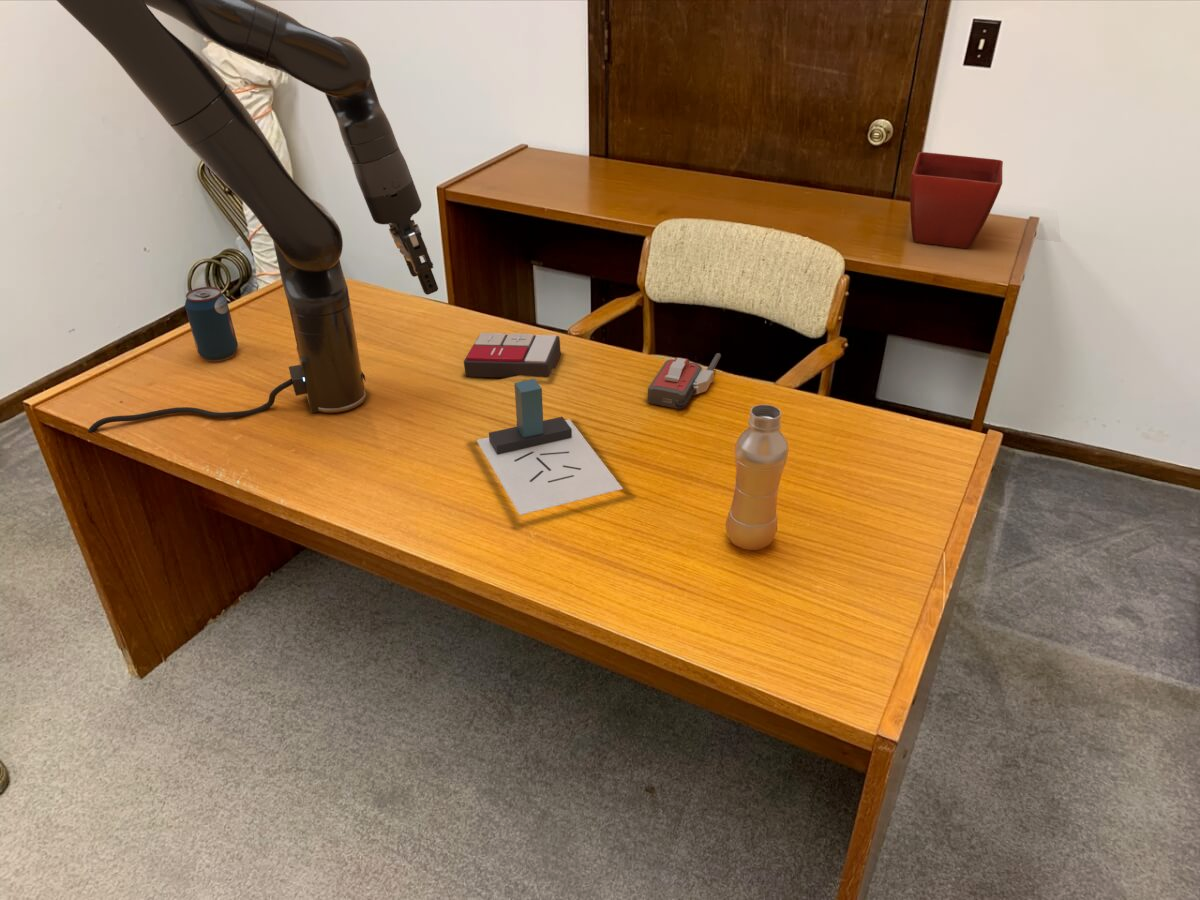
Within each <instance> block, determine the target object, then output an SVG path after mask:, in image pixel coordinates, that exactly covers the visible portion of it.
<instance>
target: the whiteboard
mask: <svg viewBox="0 0 1200 900" xmlns="http://www.w3.org/2000/svg"><path fill="white" fill-rule="evenodd" d="M564 420H565V421H566V422H567V424H568V425H569V426H570V427H571V429H572V438H568V439H564V440H559V441H555V442H551V443H546V444H542V445H537V446H533V447H529V448H524V449H520V450H516V451H511V452H507V453H503V454H498V455H497V453H496V452H495V450H494V448H493V447H492V445H491V443H490V442H489V436H487V437H483V438H478V439H476V443H477V444H478V446H479V447H480V449H481V451H482V453H483V454H484V456H485V458H486V460H487V462H488V463H489V465H490V466H491V468H492V470H493V472H494V474H495V475H496V477H497V479H498V481H499V482H500V484H501V486H502V487H503V489H504V491H505V492H506V494H507V496H508V498H509V500H510V501H511V503H512V504H513V507H514V508H515V510H516V512H517V513H518V516H523V515H528V514H531V513H534V512H538V511H543V510H546V509H551V508H555V507H558V506H562V505H565V504H566V505H567V504H570V503H574V502H578V501H581V500H586V499H590V498H594V497H597V496H600V495H605V494H610V493H613V492H618V491H621V490H623V489H624V487H622V485H621V484H620V482H618V480H617V479H616V478H615V476H614V475H613V474H612V472H611V471H610V469H609V468H608V467H607V466H606V464H605V463H604V462H603V461H602V459H601V458H600V457H599V455H598V454H597V453H596V451H595V450H594V448H593V447H592V446H591V445H590V444H589V442H588V441H587V440H586V438H585V437H584V436H583V435H582V433H581V431H579V429H578V428H577V427H576V425H575V424H574V423H573V421H572V420H571V419H569V418H568V419H564Z"/></svg>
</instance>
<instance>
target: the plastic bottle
mask: <svg viewBox="0 0 1200 900" xmlns="http://www.w3.org/2000/svg"><path fill="white" fill-rule="evenodd" d="M747 422H748V424H747V425H748V427H747V428H746V429H745V430H744V431H743V432H742V433H741V434H740V435H739V436H738V438H737V440H736V442H735V444H734V445H735V446H734V459H735V461H734V462H735V481H734V482H735V483H734V492H733V496H732V502H731V505H730V508H729V511H728V513H727V516H726V520H725V529H726V530H725V532H726V536H727V537H728V539H729V540H730V542H731V543H732V544H733V545H734V546H736V547H738V548H740V549H743V550H747V551H757V550H761V549H765V548H766V547H767V546H769V545H771V543H772V542H773V541H774V539H775V537H776V534H777V531H778V513H777V508H778V507H777V506H778V493H779V487H780V484H781V478H782V475H783V472H784V469H785V466H786V463H787V460H788V457H789V452H790V448H789V444H788V440H787V439H786V438H785V435H784V434H783V432H782V431H781V430H780V429H781V426H782V410H781V409H780V408H779V407H777V406H775V405H772V404H765V403H763V404H757V405H754V406H752V407H751V408H750V411H749V418H748V421H747Z"/></svg>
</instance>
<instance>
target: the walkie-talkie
mask: <svg viewBox="0 0 1200 900" xmlns="http://www.w3.org/2000/svg"><path fill="white" fill-rule="evenodd" d="M721 358H722V355H721V353H720V352H717V353H715V355H714V357H713V358H712V360H711V361H710V363H709V365H708V367H707V368H706V369H705V368H703V367H702V365H700V364H699V363H697V362H691V361H690V359H689V358H683V357H677V356H676V357H675V358H674V359H673V358H672V359H667V360H665V362H664V363H663V364H662V366H661V368H660V369H659V371H658V372H657V374H656V375H655V377H654V378H653V380H652V381H651V382H650V384H649V386H648V387H647V400H646V401H647V402H648V403H649V404H651V405H654V406H661V407H666V408H670V409H671V408H672V409H675V410H676V409H677V410H681V409H684V408H685V407H686V406H687V405H688V403H689V401H690V399H691V398H692V396H693V395H695V396H696V395H699V394H702V393H704V392H705V393H706V392H707V390H708V388H709V387H710V385H711V383H713V382H714V376H715V375H714V374H715V372H714V370H715V369H716V367H717V365H718V363H719V361H720V359H721Z"/></svg>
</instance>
